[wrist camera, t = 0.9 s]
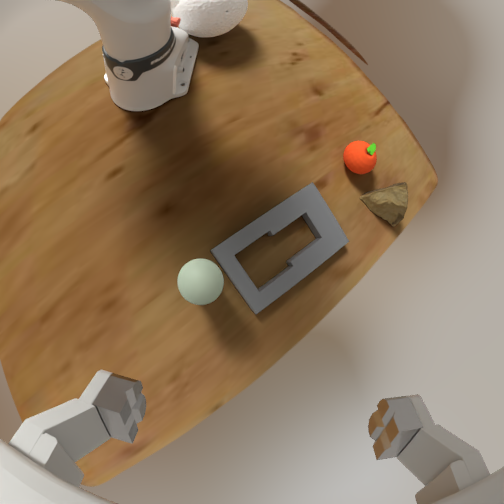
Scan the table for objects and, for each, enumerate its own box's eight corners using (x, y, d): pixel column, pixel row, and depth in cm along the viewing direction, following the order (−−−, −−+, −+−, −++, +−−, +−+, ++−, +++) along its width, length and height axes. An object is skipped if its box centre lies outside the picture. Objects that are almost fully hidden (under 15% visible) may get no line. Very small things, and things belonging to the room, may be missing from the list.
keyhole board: (252, 311, 48) (256, 314, 46) (210, 250, 47) (211, 250, 45) (342, 242, 53) (349, 241, 51) (307, 185, 52) (312, 182, 49)
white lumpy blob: (232, 61, 49) (250, 9, 33) (152, 52, 45) (150, -1, 29) (243, 13, 50) (260, -31, 35) (176, 4, 46) (181, -41, 31)
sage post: (185, 255, 46) (184, 253, 34) (218, 264, 47) (228, 265, 35) (176, 288, 46) (172, 298, 33) (209, 297, 47) (217, 309, 35)
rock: (411, 219, 55) (399, 178, 53) (420, 228, 48) (408, 182, 46) (370, 231, 59) (357, 191, 57) (373, 242, 52) (360, 197, 50)
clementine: (350, 138, 54) (368, 126, 48) (371, 162, 55) (390, 152, 49) (331, 160, 53) (349, 148, 46) (354, 184, 54) (374, 175, 47)
